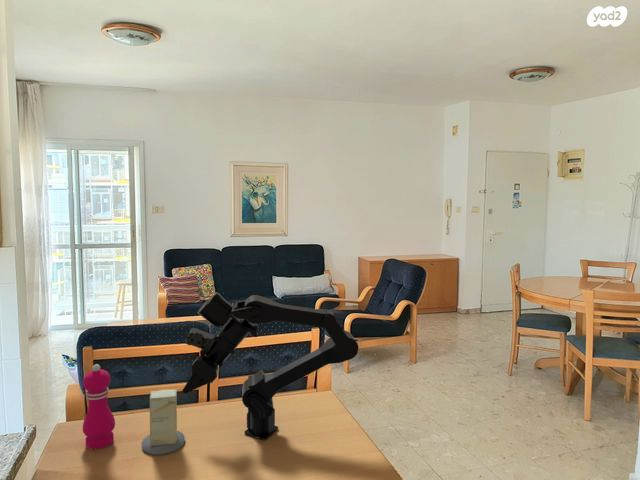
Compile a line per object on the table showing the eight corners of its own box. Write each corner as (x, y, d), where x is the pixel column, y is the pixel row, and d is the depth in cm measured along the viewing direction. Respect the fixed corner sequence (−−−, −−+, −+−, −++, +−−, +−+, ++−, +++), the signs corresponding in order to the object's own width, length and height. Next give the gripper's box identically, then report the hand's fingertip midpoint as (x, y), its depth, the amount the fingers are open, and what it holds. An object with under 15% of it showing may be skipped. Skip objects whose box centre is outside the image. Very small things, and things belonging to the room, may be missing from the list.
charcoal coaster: (193, 438, 119) (193, 435, 119) (163, 459, 111) (163, 456, 110) (163, 429, 124) (163, 426, 124) (132, 448, 115) (132, 445, 115)
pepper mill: (103, 452, 113) (99, 371, 110) (76, 448, 114) (72, 368, 112) (122, 436, 120) (118, 360, 117) (96, 433, 121) (92, 357, 119)
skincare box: (150, 446, 114) (148, 398, 113) (151, 437, 118) (149, 390, 117) (177, 443, 116) (176, 395, 114) (177, 434, 120) (176, 388, 119)
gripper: (209, 310, 127) (170, 354, 127) (198, 325, 109) (152, 377, 108) (241, 336, 128) (202, 380, 128) (235, 356, 110) (190, 408, 109)
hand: (187, 385), depth 118 cm, fingers open, 9 cm apart
